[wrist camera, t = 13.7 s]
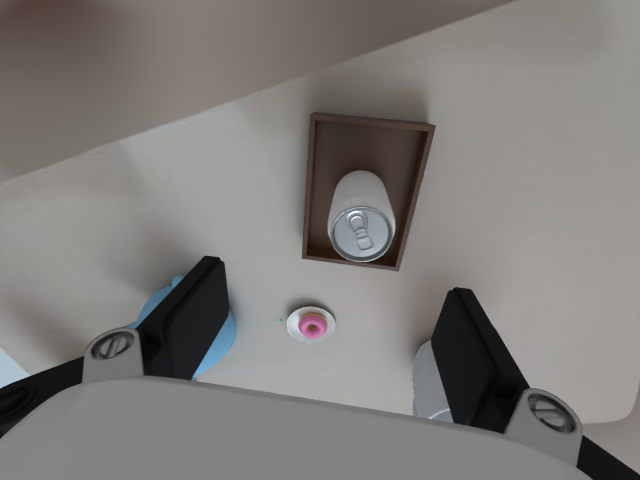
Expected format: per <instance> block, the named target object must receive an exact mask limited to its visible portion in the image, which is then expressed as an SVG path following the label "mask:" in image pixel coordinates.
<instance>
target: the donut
mask: <svg viewBox="0 0 640 480" xmlns="http://www.w3.org/2000/svg"><path fill="white" fill-rule="evenodd" d="M280 321H282V319H281V320H280ZM273 322H274V321H273ZM287 329H288V331H289V333H290V334H291V335H292V336H293V337H294V338H295V339H297V340H299V341H301V342H304V343H312V344H313V343H320V342H323V341H325V340H327V339H329V338H330V337H331V336H332V335H333V333H334V332H335V329H336V323H335V320H334V318H333V316H332V315H331V314H330V313H329V312H327V311H326V310H324V309H321V308H318V307H303V308H300V309H297V310H295V311H294V312H293V313H292V314H291V315H290V316H289V318H288V320H287Z"/></svg>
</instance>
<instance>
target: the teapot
mask: <svg viewBox="0 0 640 480" xmlns="http://www.w3.org/2000/svg"><path fill="white" fill-rule="evenodd" d="M183 278H184V277H183V276H175V277H174V278H173V279H172V283H171V285H172V286H167V287H165V288H162V289H160V290H158V291H157V292H156V293H154V294H153V295H152V296H151V297H150V299H149V300H148V301H147V303H146V304H145V306H144V307H143V309H142V311H141V313H140V315H139V317H138V320H137V321H136V322H134V323H132V324H129V325H127V326H125V327H129V328H133V329H135V328H136V327H137V326H138V325H139V324H140V323H141V322H142V321H143V320H144V319H145V318H146V317H147V316H148V315H149V314H150V313H151V312H152V310H153V309H154V308H155V307H156V306H157V305H158V304H159V303H160V302H161V301H162V300H163V299H164V298H165V297H166V296H167V295H168V294H169V293H170V292H171V291H172V290H173V288H174V287H175V286H176V285H177V284H178V283H179V282H180V281H181V280H182V279H183ZM235 337H236V324H235V320H234V317H233V315H232V313H231V311H230V309H229V315H228V318H227V319H226V321H225V323H224V325H223V326H222V328H221V330H220V331H219V333H218V335H217V337H216V338H215V340H214V342H213V343H212V345H211V347H210V348H209V350H208V352H207V354H206V355H205V357H204V359H203V360H202V362H201V364H200V366H199V367H198V369H197V371H196V372H195V374H194V376H193V377H192V379H191V381H193V380H194V378H195V376H197V375H199V374H200V373H202V372H204V371H206V370H207V369H209V368H210V367H212V366H214V365H215V364H216V363H217V362H218V361H219V360H221V359H222V357H223V356H224V355H225V354H226V353H227V352H228V350H229V349H230V348H231V346H232V344H233V342H234V340H235Z"/></svg>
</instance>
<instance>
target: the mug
mask: <svg viewBox="0 0 640 480" xmlns="http://www.w3.org/2000/svg"><path fill="white" fill-rule="evenodd" d="M412 380H413V390H414V399H413V416H416V417H422V418H428V419H433V420H439V421H444V422H450V423H454V422H453V419H452V416H451V412H450V409H449V405H448V402H447V399H446V395H445V392H444V388H443V385H442V381H441V378H440V375H439V371H438V368H437V364H436V361H435V358H434V354H433V351H432V347H431V340H429V341H427V342H425V343H424V344H422V345H421V347H420V348H419V350H418V352H417V354H416V356H415V360H414V366H413V379H412Z"/></svg>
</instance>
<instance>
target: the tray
mask: <svg viewBox="0 0 640 480" xmlns="http://www.w3.org/2000/svg"><path fill="white" fill-rule="evenodd" d="M435 127H436V126H435V125H432V124H429V123H421V122H411V121H401V120H390V119H380V118H369V117H359V116H348V115H338V114H327V113H317V112H314V113H312V114H310V129H309V146H308V163H307V180H306V197H305V214H304V231H303V248H302V259H309V260H317V261H324V262H332V263H339V264H347V265H355V266H362V267H370V268H378V269H385V270H393V271H399V269H400V264H401V261H402V257H403V253H404V249H405V245H406V241H407V237H408V233H409V229H410V225H411V221H412V217H413V213H414V209H415V206H416V202H417V198H418V194H419V190H420V186H421V182H422V178H423V174H424V170H425V166H426V162H427V158H428V155H429V151H430V147H431V143H432V139H433V135H434V131H435ZM357 170H363V171H368V172H371V173H373V174H375V175H376V176H378V177H379V178H380V180H381V181H382V182H383V184H384V187H385V189H386V192H387V195H388V199H389V202H390V205H391V208H392V211H393V215H394V219H395V233H394V236H393V239H392V242H391V245H390V247H389V248H388V250H387V251H386V252H385V253H384V254H383V255H382V256H380V257H379V258H377V259H375V260H372V261H368V262H355V261H351V260H348V259H346V258H344V257H342V256H341V255H340V254H339V253H338V252H337V251H336V250H335V249H334V247H333V245H332V242H331V240H330V237H329V234H328V218H329V214H330V209H331V205H332V201H333V197H334V193H335V189H336V186H337V184H338V183H339V181H340V180H341V179H342V178H343V177H344V176H345V175H347V174H349V173H351V172H353V171H357Z"/></svg>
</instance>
